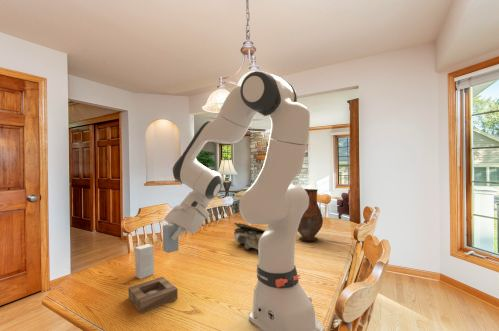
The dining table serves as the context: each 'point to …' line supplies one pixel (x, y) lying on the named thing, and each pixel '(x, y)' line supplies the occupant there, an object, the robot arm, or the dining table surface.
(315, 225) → the brown vase
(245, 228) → the hollow geode rock
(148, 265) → the skincare box
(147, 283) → the socket block
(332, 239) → the dining table surface
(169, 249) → the post
